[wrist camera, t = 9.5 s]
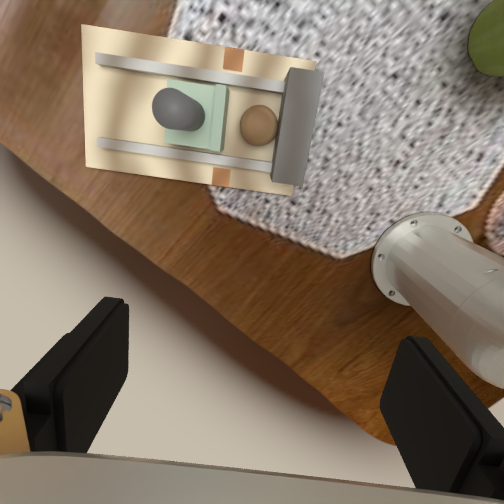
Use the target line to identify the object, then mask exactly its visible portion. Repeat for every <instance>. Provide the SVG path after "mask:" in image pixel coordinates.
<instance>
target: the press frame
mask: <svg viewBox="0 0 504 504" xmlns="http://www.w3.org/2000/svg"><path fill="white" fill-rule="evenodd" d="M81 27H82V59H83V90H84V121H85V152H86V167H91V168H98V169H105V170H112V171H119V172H126V173H133V174H141V175H148V176H155V177H162V178H169V179H176V180H183V181H190V182H197V183H204V184H211V185H217V186H224V187H232V188H239V189H246V190H253V191H260V192H267V193H274V194H281V195H288V196H292V195H293V189H294V185H296V186H303V181H304V176H305V170H306V165H307V160H308V155H309V149H310V144H311V139H312V134H313V128H314V123H315V118H316V113H317V107H318V102H319V97H320V92H321V86H322V81H323V76H324V72H320V71H315V68H316V63H317V61H311V60H304V59H298V58H292V57H285V56H279V55H273V54H266V53H260V52H254V51H247V50H243V49H236V48H230V47H222V46H216V45H210V44H203V43H197V42H191V41H184V40H178V39H172V38H165V37H159V36H153V35H146V34H140V33H134V32H127V31H121V30H115V29H108V28H102V27H96V26H90V25H83V24H81ZM167 79H172V80H178V81H185V82H191V83H198V84H204V85H211V86H216V84H221V85H227V87H228V89H229V91H230V94H229V103H228V113H227V122H226V132H225V141H224V150H223V151H221V152H218V151H211V150H210V149H204V148H197V147H190V146H183V145H177V144H170V143H164V142H165V128H164V127H163V126H161V125H160V124H159V123H158V122H157V121H156V119H155V118H154V115H153V112H152V102H153V99H154V97H155V95H156V94H157V93H158V92H159V91H160V90H162V89H164V88H167Z"/></svg>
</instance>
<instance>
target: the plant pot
mask: <svg viewBox="0 0 504 504" xmlns="http://www.w3.org/2000/svg"><path fill="white" fill-rule="evenodd" d="M468 51H469V55H470V57H471V59H472V61H473V63H474V65H475V67H476V69H477V70H478V71H480V72H481V73H483V74H485V75H488V76H504V0H493V1H492V2H491V3H490V4H489V5H488V6H487V7H486V8H485V9H484V10H483V11H482V12H481V13H480V14H479V16H478V17H477V19H476V21H475V23H474V25H473V26H472V29H471V32H470V36H469V42H468Z"/></svg>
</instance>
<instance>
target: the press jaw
mask: <svg viewBox="0 0 504 504" xmlns="http://www.w3.org/2000/svg"><path fill="white" fill-rule="evenodd" d="M229 94H230V91H229V89H228V87H227V85H221V84H216V86H211V85H204V84H198V83H191V82H185V81H178V80H172V79H167V88H164V89H162V90H160V91H159V92H158V93H157V94H156V95H155V97H154V99H153V102H152V112H153V115H154V118H155V119H156V121H157V122H158V123H159V124H160V125H161V126H163V127H164V128H165V142H164V143H170V144H177V145H183V146H190V147H197V148H204V149H210V150H211V151H218V152H221V151H223V150H224V141H225V132H226V122H227V113H228V103H229Z"/></svg>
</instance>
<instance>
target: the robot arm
mask: <svg viewBox="0 0 504 504" xmlns="http://www.w3.org/2000/svg"><path fill="white" fill-rule="evenodd" d="M411 221H413V222H412V223H411ZM379 254H380V256H378V255H379ZM371 271H372V276H373V279H374V281H375V283H376V285H377V287H378V288H379V289H380V290H381V292H382V293H383V294H384V295H385V296H386V297H387V298H389V299H391V300H392V301H394V302H396V303H399V304H402V305H406V306H411V307H412V308H413V309H414V310H415V311H416V312H417V313H418V314H419V315H420V316H421V317H422V319H423V320H424V321H425V322H426V323H427V324H428V325H429V326H430V327H431V328H432V329H433V330H434V332H435V333H436V334H437V335H438V336H439V337H440V338H441V339H442V340H443V341H444V342H445V344H446V345H447V346H448V347H449V348H450V349H451V350H452V351H453V352H454V353H455V354H456V355H457V357H458V358H459V359H460V360H461V361H462V362H463V363H464V364H465V365H466V366H467V367H468V368H469V369H470V370H471V371H472V372H473V373H475V374H476V375H477V376H479V377H480V378H481V379H483V380H484V381H486V382H488V383H490V384H492V385H494V386H496V387H499V388H502V389H504V258H503V257H501V256H499V255H497V254H495V253H493V252H491V251H489V250H487V249H485V248H483V247H481V246H478V245H476V244H474V243H473V240H472V237H471V235H470V233H469V232H468V230H467V229H466V228H465V226H464V225H462V224H461V223H460V222H459V221H457V220H455V219H453V218H451V217H449V216H447V215H444V214H441V213H434V212H425V213H418V214H414V215H410V216H408V217H405V218H403V219H401V220H400V221H398V222H396V223H395V224H393V225H392V226H391V227H390V228H389V229H388V230H386V231H385V233H384V234H383V235H382V236H381V238H380V239H379V241H378V243H377V244H376V246H375V249H374V251H373V254H372V260H371ZM389 291H390V292H389ZM128 350H129V305H128V304H125V303H124V300H123V299H120V298H112V297H104V298H103V299H102V300H101V301H100V302H99V303H98V304H97V305H96V306H95V307H94V308H93V309H92V310H91V311H90V312H89V313H88V314H87V316H86V317H85V318H84V319H83V320H82V321H81V322H80V323H79V324H78V325H77V326H76V327H75V328H74V329H73V330H72V331H71V332H70V333H67V334H65V335H64V336H63V337H62V338H61V339H60V340H59V341H58V342H57V343H56V344H55V345H54V346H53V347H52V348H51V349H50V350H49V351H48V352H47V353H46V354H45V355H44V356H43V358H41V360H40V361H39V362H38V363H37V364H36V365H35V366H34V367H33V368H32V369H31V370H30V371H29V372H28V373H27V374H26V375H25V376H24V377H23V378H22V379H21V380H20V381H19V382H18V383H17V384H16V385H15V386H14V388H13V389H11V390H10V391H9V390H4V389H0V504H504V428H503V426H502V425H501V424H500V423H499V422H498V420H497V419H496V418H495V417H494V416H493V415H492V413H491V412H490V411H489V410H488V409H487V408H486V406H485V405H484V404H483V403H482V402H481V401H480V399H479V398H478V397H477V396H476V395H475V393H474V392H473V391H472V390H471V389H470V388H469V386H468V385H467V384H466V383H465V382H464V381H463V379H462V378H461V377H460V376H459V375H458V374H457V372H456V371H455V370H454V369H453V368H452V367H451V365H450V364H449V363H448V362H447V361H446V359H445V358H444V357H443V356H442V355H441V354H440V352H439V351H438V350H437V349H436V348H435V347H434V345H433V344H432V343H431V342H430V341H429V340H428V339H427V338H423V337H415V336H408V337H407V338H406V339H403V340H402V341H401V342H400V345H399V347H398V350H397V353H396V356H395V359H394V362H393V365H392V368H391V370H390V373H389V376H388V379H387V382H386V385H385V388H384V391H383V393H382V396H381V399H380V410H381V413H382V415H383V417H384V419H385V421H386V424H387V426H388V428H389V430H390V432H391V435H392V437H393V439H394V441H395V443H396V445H397V448H398V450H399V452H400V454H401V456H402V459H403V461H404V463H405V465H406V467H407V470H408V472H409V474H410V476H411V478H412V481H413V482H414V485H415V487H416V488H408V487H400V486H391V485H383V484H374V483H366V482H357V481H349V480H340V479H331V478H321V477H313V476H304V475H295V474H286V473H277V472H268V471H259V470H250V469H241V468H231V467H222V466H213V465H203V464H192V463H184V462H175V461H165V460H156V459H146V458H134V457H125V456H114V455H103V454H90V453H87V451H88V449H89V448H90V446H91V444H92V442H93V440H94V438H95V436H96V434H97V433H98V431H99V429H100V427H101V425H102V423H103V421H104V420H105V418H106V415H107V414H108V412H109V410H110V408H111V406H112V405H113V403H114V401H115V399H116V397H117V395H118V393H119V392H120V390H121V388H122V386H123V384H124V382H125V380H126V377H127V374H128Z"/></svg>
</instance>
